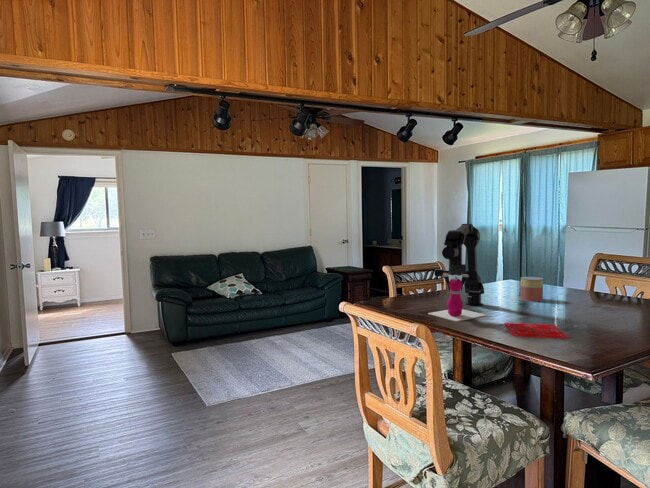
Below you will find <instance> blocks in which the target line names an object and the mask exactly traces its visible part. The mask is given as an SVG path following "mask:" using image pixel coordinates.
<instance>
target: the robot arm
mask: <svg viewBox="0 0 650 488" xmlns="http://www.w3.org/2000/svg"><path fill="white" fill-rule="evenodd" d="M480 239H481V233H480V231H479V229H478V228H477V227H475V226H474V225H473V223H462V224H461V226H459V227H457V228H456V229H452V230H448V231H447V233H446V235H445V239H444V244H443V245H444V246H445V247H444V248H443V249H442V251H441V255H442V257H443V258H444V259H445V260H448V270H444V268H435V269H434V276H435V277H441V279H444V281H445V282H446V285H447V287H448V291H449V292H450V287H449V281H450V277H449V275H451V276H461V279H460V280H461V281H462V288H461V292H462V290H463V288H464V292H465V294H467V302H466V303H465V305H469V306H474V307H476V306H483V305H484V303H482V295H484V294H485V288H484V285H483V282H482V278H481V277H480V275H479V273H478V256H477V255H478V254H477V246H478V245H479V243H480ZM463 245H464V247H465V248H466V255H467V256H466V257H467V259H466V260H467V265H466V264H463Z"/></svg>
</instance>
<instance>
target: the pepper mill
mask: <svg viewBox="0 0 650 488" xmlns="http://www.w3.org/2000/svg"><path fill="white" fill-rule="evenodd" d="M449 287H450V291H449V292H450V296H449V298H448V299H447V302H446V307H447V310H448V313H449V315H451V316H460V315H461V314H462V309H463V307H464V302H463V300H462V297H461V293H462V291H461V288H462V281H461V279H460V278H459V277H457V276H454V277H453V278H452V279H449ZM462 289H463V288H462Z"/></svg>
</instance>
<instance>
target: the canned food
mask: <svg viewBox="0 0 650 488" xmlns="http://www.w3.org/2000/svg"><path fill="white" fill-rule="evenodd" d="M519 299H520V300H521V301H523V300H524V302H529V301H532V302H531V303H539V302H538V301H541V302H543V301H544V278H543V277H539V276H521V277H520V297H519Z"/></svg>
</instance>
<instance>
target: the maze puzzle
mask: <svg viewBox="0 0 650 488" xmlns="http://www.w3.org/2000/svg"><path fill="white" fill-rule="evenodd" d="M503 324H504V325H505V327H506V328H507V330H508V331H509V332H510V335H512V337H517V338H518V337H519V338H522V337H523V338H542V339H570V337H569V336H568V335H567V334H566V333H564V332H563V331H562V330H561V329H560V328H558V327H557V326H556V325H555V324H544V323H543V324H539V323H529V324H528V323H515V322H514V323H513V322H512V323H511V322H504V323H503Z"/></svg>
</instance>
